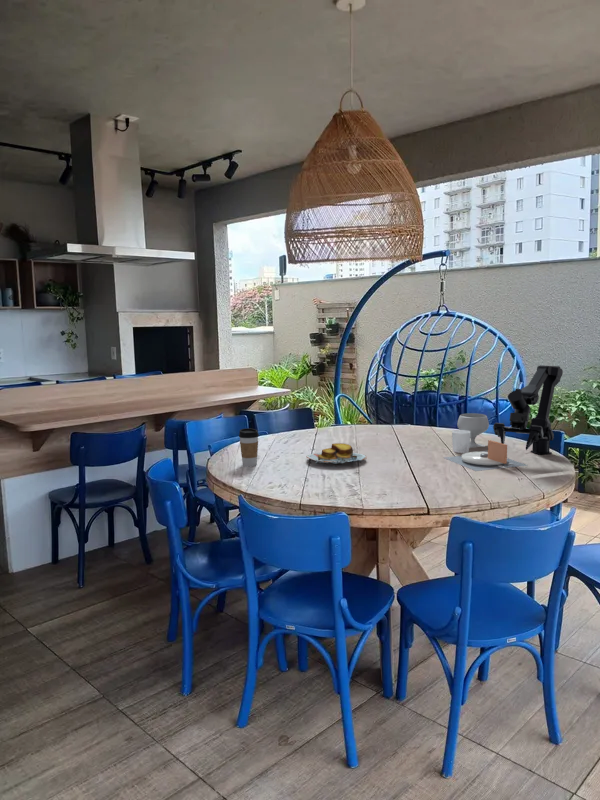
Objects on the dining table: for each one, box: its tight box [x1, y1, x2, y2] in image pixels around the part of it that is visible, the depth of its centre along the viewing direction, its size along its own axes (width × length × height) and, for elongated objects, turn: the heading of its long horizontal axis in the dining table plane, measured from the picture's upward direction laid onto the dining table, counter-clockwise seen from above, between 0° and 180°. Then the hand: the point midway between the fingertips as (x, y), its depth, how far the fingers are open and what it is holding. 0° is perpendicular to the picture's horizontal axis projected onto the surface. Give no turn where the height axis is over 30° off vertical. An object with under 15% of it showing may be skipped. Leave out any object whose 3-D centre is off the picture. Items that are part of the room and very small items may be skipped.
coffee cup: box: [238, 427, 260, 468], centre depth 258 cm, size 8×8×15 cm
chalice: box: [456, 412, 490, 449], centre depth 283 cm, size 14×14×15 cm
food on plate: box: [305, 442, 367, 465], centre depth 263 cm, size 25×25×7 cm
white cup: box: [451, 429, 471, 454], centre depth 271 cm, size 8×8×10 cm
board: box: [443, 455, 528, 472], centre depth 253 cm, size 24×24×1 cm
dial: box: [461, 439, 508, 465], centre depth 252 cm, size 18×19×9 cm
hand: (514, 448), depth 245 cm, fingers open, 9 cm apart
